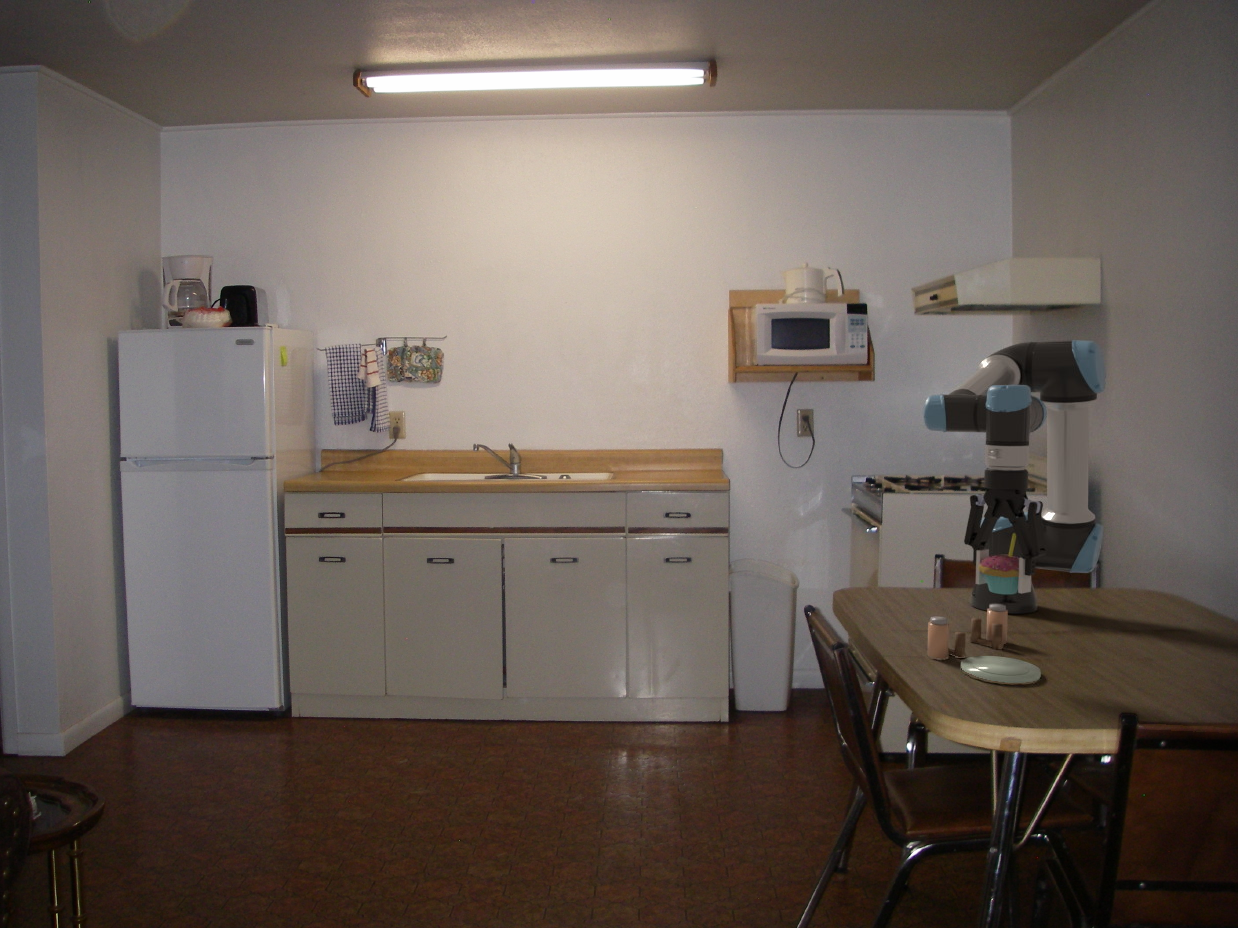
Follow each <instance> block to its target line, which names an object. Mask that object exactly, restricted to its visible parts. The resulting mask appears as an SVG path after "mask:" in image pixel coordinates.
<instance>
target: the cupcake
mask: <svg viewBox="0 0 1238 928" xmlns="http://www.w3.org/2000/svg"><path fill="white" fill-rule="evenodd" d="M1015 540H1016V534H1015V533H1013V536H1012V540H1011V545H1010V550H1009V555H1008V554H1005V555H1004V554H1001V555H999V554H998V555H991V556H988V557H987V558H985V559H983V560H982V562H980V565H979V571H980V572H982V573H984V575H985V578H986V580H987V584H988V587H989V591H990V592H993V593H997V594H1015V593H1017V590H1018V583H1019V558H1018V557H1015V556H1012V554H1013V550H1014V545H1015Z"/></svg>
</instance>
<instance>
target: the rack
mask: <svg viewBox="0 0 1238 928" xmlns="http://www.w3.org/2000/svg"><path fill="white" fill-rule="evenodd" d="M982 622H983V621H982V618H979V617H972V618H971V622H970V624H971V625H970V637H969V642H970V641H971V642H970V643H972V642H975V643H974V644H977V643H979V644H978V645H981V644H983V645H982V646H985V645H988V646H991V647H993V648H996V649H995V650H1002V649H1001V648H1004V645H1003V644H1002V628H1003V625H1002V624H1000V623H993V624H992V641H990V640H987V639H986V638H983V637H982ZM966 637H967V636H966V632H963V631H955V632H954V649H952V648H949V654H952V655H955V656H958V657H964V656H966V657H967V653H966ZM988 646H987V647H988ZM991 647H990V648H991ZM993 648H992V649H993Z"/></svg>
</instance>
